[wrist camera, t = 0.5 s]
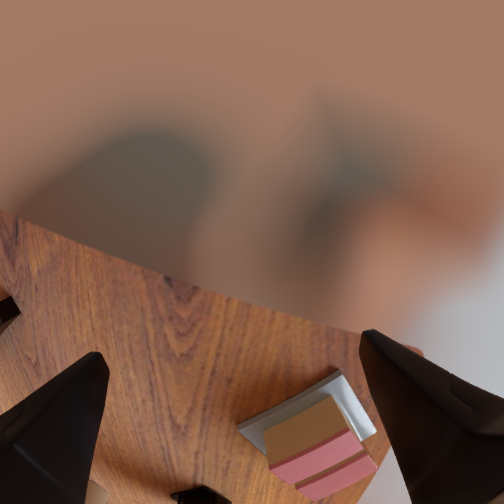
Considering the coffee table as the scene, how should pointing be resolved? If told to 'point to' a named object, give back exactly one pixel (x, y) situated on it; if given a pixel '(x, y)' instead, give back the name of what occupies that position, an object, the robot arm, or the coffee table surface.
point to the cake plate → (331, 385)
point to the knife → (7, 313)
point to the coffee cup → (95, 494)
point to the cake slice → (310, 442)
